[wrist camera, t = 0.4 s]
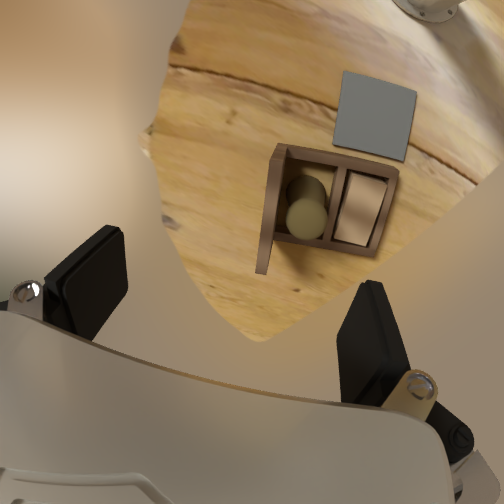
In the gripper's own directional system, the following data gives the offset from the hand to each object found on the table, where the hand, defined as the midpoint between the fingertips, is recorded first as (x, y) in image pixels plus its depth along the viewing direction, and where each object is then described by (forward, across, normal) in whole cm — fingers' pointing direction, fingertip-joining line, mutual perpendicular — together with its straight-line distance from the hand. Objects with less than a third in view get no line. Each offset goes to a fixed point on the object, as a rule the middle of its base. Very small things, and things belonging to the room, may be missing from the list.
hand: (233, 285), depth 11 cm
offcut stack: (+34, -13, +6) cm, 37 cm away
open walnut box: (+34, -9, +6) cm, 35 cm away
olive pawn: (+34, -5, +6) cm, 35 cm away
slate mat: (+33, -12, -8) cm, 36 cm away
